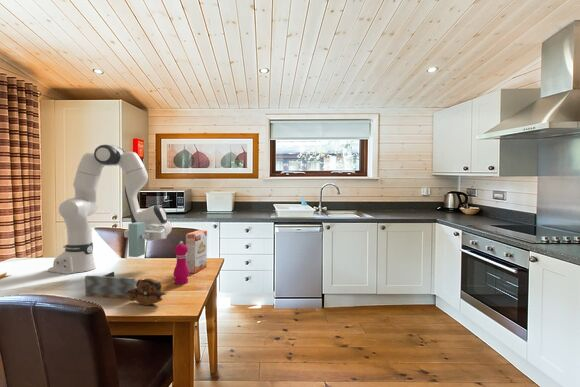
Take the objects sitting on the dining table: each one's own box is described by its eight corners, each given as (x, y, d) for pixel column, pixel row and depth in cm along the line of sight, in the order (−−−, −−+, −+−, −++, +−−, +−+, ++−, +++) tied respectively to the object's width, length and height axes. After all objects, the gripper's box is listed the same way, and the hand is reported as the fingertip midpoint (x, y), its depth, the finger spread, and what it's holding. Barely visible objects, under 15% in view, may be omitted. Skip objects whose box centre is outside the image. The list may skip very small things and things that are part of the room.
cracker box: (195, 273, 172) (195, 234, 171) (185, 273, 174) (184, 233, 173) (207, 266, 186) (207, 230, 185) (197, 266, 187) (197, 229, 186)
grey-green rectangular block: (128, 256, 160) (128, 223, 159) (136, 253, 166) (136, 222, 165) (137, 257, 159) (137, 224, 158) (144, 254, 165) (144, 222, 165)
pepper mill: (180, 285, 153) (180, 243, 152) (170, 283, 157) (169, 241, 156) (192, 281, 159) (192, 240, 158) (182, 279, 163) (182, 239, 162)
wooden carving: (123, 305, 129) (123, 279, 129) (131, 300, 134) (131, 276, 133) (162, 308, 127) (162, 282, 126) (168, 303, 131) (168, 279, 131)
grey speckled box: (85, 296, 138) (84, 276, 138) (113, 282, 156) (113, 265, 156) (133, 299, 135) (133, 279, 135) (157, 285, 153) (157, 267, 153)
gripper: (133, 225, 176) (116, 229, 163) (169, 226, 173) (154, 231, 160) (133, 237, 177) (116, 241, 163) (169, 238, 174) (154, 243, 160)
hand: (135, 236), depth 161 cm, fingers closed on grey-green rectangular block, 4 cm apart
